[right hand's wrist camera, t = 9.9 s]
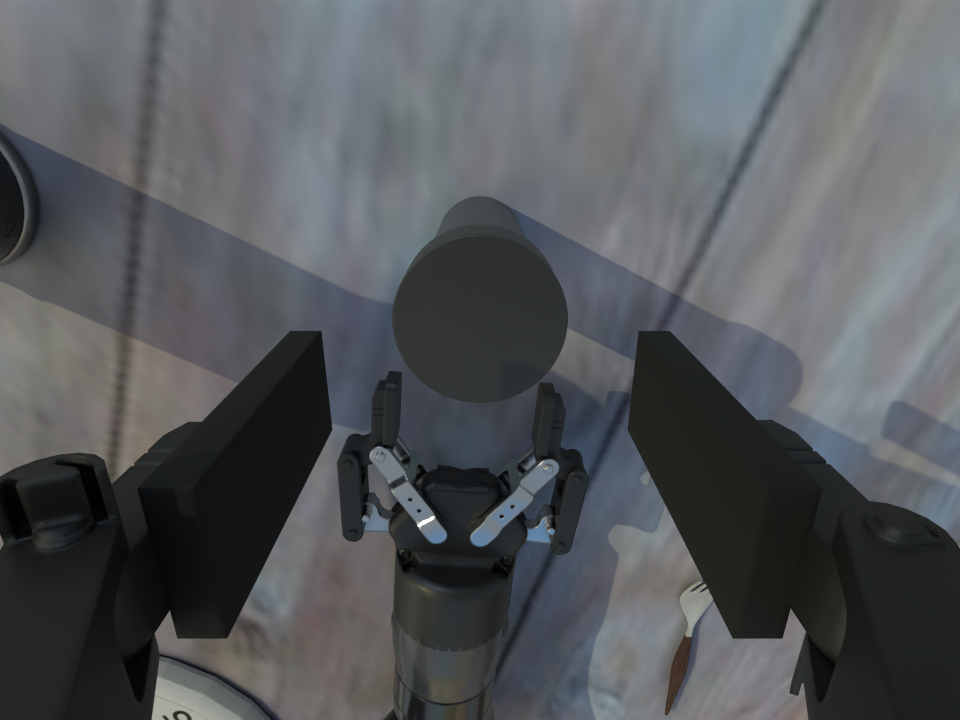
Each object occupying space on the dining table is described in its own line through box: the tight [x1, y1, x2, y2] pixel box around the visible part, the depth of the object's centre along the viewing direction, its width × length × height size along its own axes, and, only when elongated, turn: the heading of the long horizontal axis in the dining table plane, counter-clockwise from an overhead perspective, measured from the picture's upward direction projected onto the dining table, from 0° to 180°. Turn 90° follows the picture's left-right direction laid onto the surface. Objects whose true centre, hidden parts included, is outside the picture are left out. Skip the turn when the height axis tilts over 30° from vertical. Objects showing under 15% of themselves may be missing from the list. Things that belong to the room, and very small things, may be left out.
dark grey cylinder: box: [435, 197, 525, 238], centre depth 26 cm, size 5×5×16 cm
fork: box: [665, 581, 713, 715], centre depth 44 cm, size 3×16×2 cm, turn 176°
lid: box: [392, 224, 568, 403], centre depth 19 cm, size 6×6×2 cm
